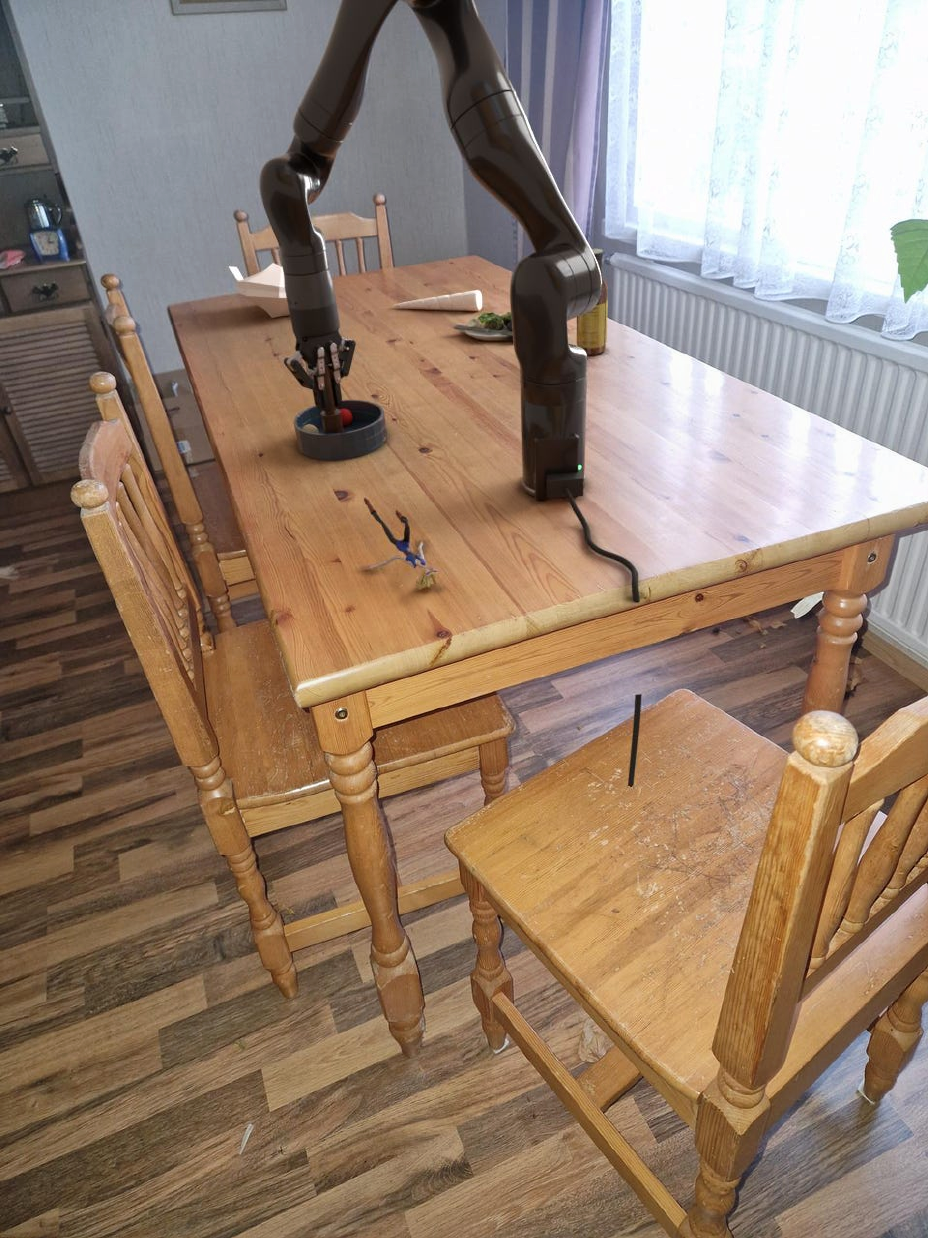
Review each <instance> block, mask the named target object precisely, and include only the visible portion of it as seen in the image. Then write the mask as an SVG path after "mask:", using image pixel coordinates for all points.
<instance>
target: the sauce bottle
mask: <svg viewBox="0 0 928 1238" xmlns="http://www.w3.org/2000/svg"><path fill="white" fill-rule="evenodd" d="M591 250H592V252H593V254H594V256H595V258H596V260H597V263H598V266H599V269H600V273H601V280H602V289H601V295H600V298H599V301H598V302H597V304H596V306H595V307H594V308H593V309H592V310H590V311H589V312H587V313H585V314H583V315H580V316H578V317H576V346H579V347H581V348H582V349H583V350H584V351H585V352H586V354H587V356H588V355H590V356H595V355H599V354H602V353H604V352H606V349H607V342H608V308H609V307H608V303H609V299H608V284H607V281H606V280H605V278H604V275H603V259H604V250H603V249H602V248H591Z"/></svg>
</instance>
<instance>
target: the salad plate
mask: <svg viewBox="0 0 928 1238" xmlns="http://www.w3.org/2000/svg"><path fill="white" fill-rule="evenodd" d="M452 327H453V329H454V330H457V331H459V332H463V333H464V334H466V335H467V336H470V337H471V338H474V339H476V340H480V341H483V342H513V331H512V319H511V311H507V312H506V313H503V314H499V313H498V314H497V313H495V312H494V311H492V312H482V313H481V315H478V316H474V317H472V318H470V319H469V320H468V323H467V325H463V324H455V325H453V326H452Z"/></svg>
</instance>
